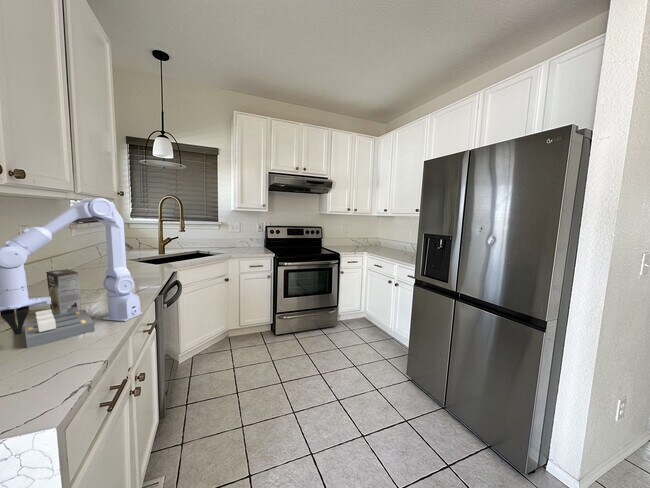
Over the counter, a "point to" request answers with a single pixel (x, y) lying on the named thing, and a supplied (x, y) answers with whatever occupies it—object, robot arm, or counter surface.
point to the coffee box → (63, 291)
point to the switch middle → (44, 317)
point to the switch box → (59, 328)
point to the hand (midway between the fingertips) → (18, 333)
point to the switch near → (46, 325)
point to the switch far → (43, 313)
